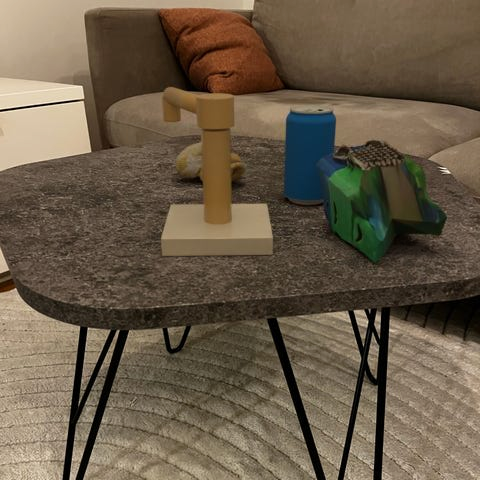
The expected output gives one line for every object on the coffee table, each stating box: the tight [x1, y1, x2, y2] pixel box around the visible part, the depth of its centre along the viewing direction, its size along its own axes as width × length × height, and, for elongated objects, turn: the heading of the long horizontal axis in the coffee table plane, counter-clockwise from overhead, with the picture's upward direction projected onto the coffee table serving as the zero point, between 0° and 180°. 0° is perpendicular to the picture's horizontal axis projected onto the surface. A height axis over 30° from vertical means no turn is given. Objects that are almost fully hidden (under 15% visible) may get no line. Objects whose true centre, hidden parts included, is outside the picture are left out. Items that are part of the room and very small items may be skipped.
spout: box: [161, 86, 235, 129], centre depth 68 cm, size 16×4×4 cm, turn 27°
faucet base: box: [160, 128, 274, 257], centre depth 66 cm, size 12×12×12 cm
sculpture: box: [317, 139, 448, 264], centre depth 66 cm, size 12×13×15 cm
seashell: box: [174, 141, 247, 183], centre depth 90 cm, size 10×6×15 cm
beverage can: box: [283, 104, 337, 206], centre depth 79 cm, size 6×6×12 cm
